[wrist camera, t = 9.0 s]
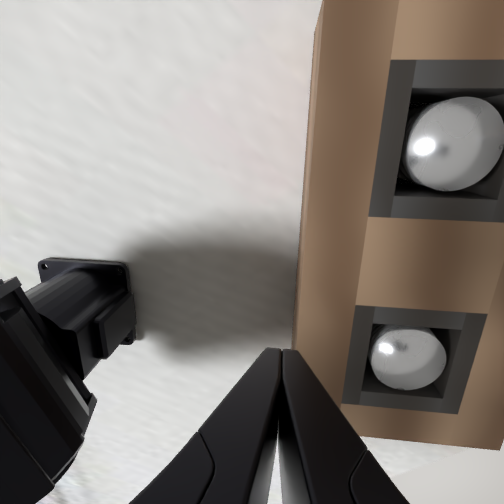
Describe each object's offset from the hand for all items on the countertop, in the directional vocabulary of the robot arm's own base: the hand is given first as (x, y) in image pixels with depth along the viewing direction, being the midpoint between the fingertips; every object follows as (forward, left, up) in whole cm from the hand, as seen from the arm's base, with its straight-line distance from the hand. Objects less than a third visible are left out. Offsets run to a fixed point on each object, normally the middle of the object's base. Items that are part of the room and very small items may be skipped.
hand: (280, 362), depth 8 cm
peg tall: (+7, -6, -13) cm, 16 cm away
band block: (+7, 0, -13) cm, 15 cm away
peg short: (+7, +5, -13) cm, 16 cm away
